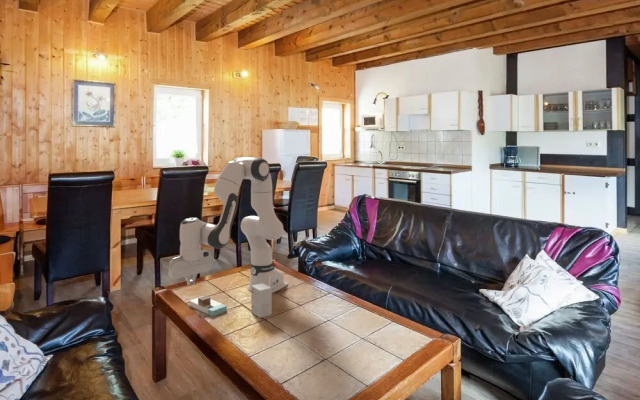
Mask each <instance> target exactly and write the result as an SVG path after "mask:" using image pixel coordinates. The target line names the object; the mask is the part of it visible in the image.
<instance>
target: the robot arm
mask: <svg viewBox="0 0 640 400" xmlns="http://www.w3.org/2000/svg"><path fill="white" fill-rule="evenodd" d="M270 171H271V170H270V165H269V162H268V161H267V160H266V159H264V158H262V157H253V156H248V157H246V156H245V157H242V156H239V157H236V158H234V159H233V160H231V161H228V162H227V163H226V164H225V166H224V167H223V168H222V170H221V171H220V174H219V175H218V177H217V180H216V182H215V184H214V189H213V190H214V194H215V196H216V198H218V200H219V201H220V202H221V203H222V207H223V208H222V211H221V215H220V217H219V221H218V223H217V224H213V223H210V222H209V223H208V222H206V221H202V220H201V219H199V218H198V217H189V218H188V217H187V218H185V219H183V220H182V221H181V222H180V226H179V241H180V246H179V256H176V257H173V258H171V259H170V260H169V262H168V274H167V275H168V278H169V279H171V280H179V279H182V278H184V279H185V281H186V285H187V286H191V285H195V283H196V279H197V277H198V274H202V273H204V272H209V271H211V270H212V268H213V266H212V257H211V254H212V253H211V251H209V250H206V249H203V248H202V247H201V245H207V246H210V247H212V248H214V249H216V250H220V249H223V248H225V247H226V246H227V245H228V244H229V243H230V242H229V241H230V240H231V233H232V227H233V223H234V220H235V217H236V213H237V210H238V206H239V190H240V188H241V186H242V182H243V180H250V183H251V185H250V205H251V208H252V209H253V210H254V211H255V212H256V214H257V215H249V216H245V217H243V218H242V220H241V222H240V231H241V232H242V233H243V234H244V236H245V237H246V240H247V241H248V244H249V247H250V261H251V262H249V263H250V275H249V283H248V287H247V290H248V291H250V292H251V286H252V285H257V284H261V283H263V284H265V285H267V286H269V287H271V288H272V294H273V293H275V292H278V291H279V290H282V289H284V288H285V287H286V286H288V284H289V283H288V282H287V281H286V280H284V275H283V273H282V272H280V271H279V270H278V269H276V268H275V267H277V266H278V265H279V263H278V262H275V261H274V262H273V248H272V246H271V245H270V244H269V243H268V242H267V240H269V241H270V240H271V241H272V240H279V239H280V238H281V237H282V236H283V234H284V224H283V223H282V221H281V220H280V219H279V218H278V216H277V215H276V212H275V209H274V204H273V203H274V202H273V181H272V174H271V173H270ZM191 276H192V277H191ZM190 277H191V279H190Z"/></svg>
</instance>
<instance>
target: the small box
mask: <svg viewBox="0 0 640 400" xmlns="http://www.w3.org/2000/svg"><path fill="white" fill-rule="evenodd" d="M250 292H251V295H250V296H251V303H250V304H251V306H250V308H251V310H250V311H251V313H252V314H254V315H255V316H257V317H258V318H260V319H261V318H265V317H268V316H271V315H272V312H273V311H272V308H273V307H272V305H273V304H272V303H273V302H272V301H273V297H272V295H273V293H272V288H271V287H269V286H267V285H265V284H263V283H261V284H257V285H252V286H251V291H250Z"/></svg>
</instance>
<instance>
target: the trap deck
mask: <svg viewBox="0 0 640 400" xmlns="http://www.w3.org/2000/svg"><path fill="white" fill-rule="evenodd" d="M203 296H204V295H202V296H200V297H203ZM200 297H196V298H193V299H190V300H189V301H188V302H189V306H190V307H192V308H194V309H196V310H198V311H200V312H203V313H204V314H206V315H208V316H210V317H214V316H217V315H219V314H222V313H225V312H227V311H228V308H227V305H226V304H223V303H221V302H219V301H216V300H214V299H213V298H212V299H211V298H210V300H211V304H210V305H207V306H204V307H202V306H200V305H198V298H200Z"/></svg>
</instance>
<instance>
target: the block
mask: <svg viewBox="0 0 640 400" xmlns="http://www.w3.org/2000/svg"><path fill="white" fill-rule="evenodd" d="M202 296H203V297H202ZM202 296H200V298H199V297H197V298H198V305H200V306H202V307H204V306H207V305H210V304H211V300H210V299H211V297H209V296H207V295H202Z"/></svg>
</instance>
